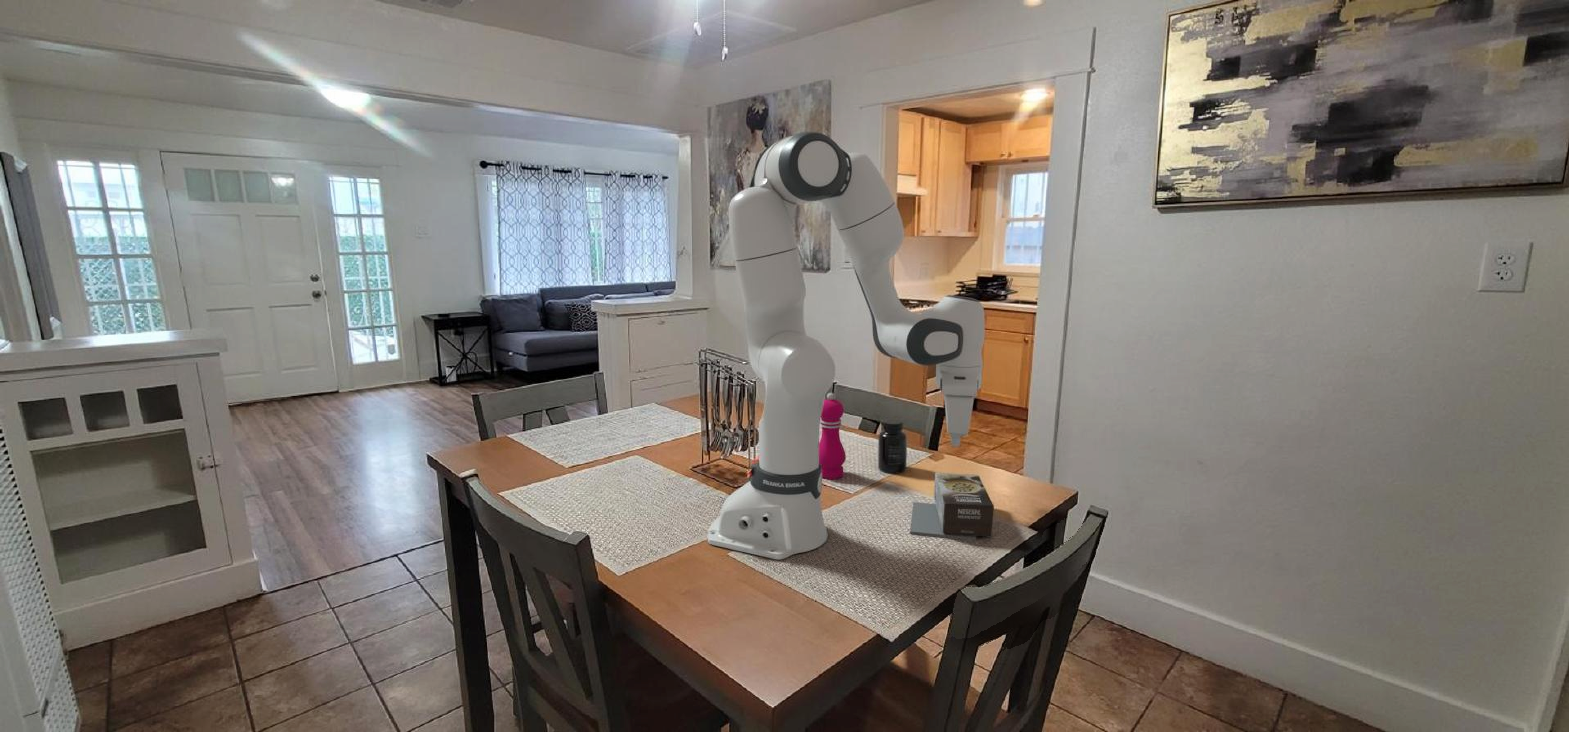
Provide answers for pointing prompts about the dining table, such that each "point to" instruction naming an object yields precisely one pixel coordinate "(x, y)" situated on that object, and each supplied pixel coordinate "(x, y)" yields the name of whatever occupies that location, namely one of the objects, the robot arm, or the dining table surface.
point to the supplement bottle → (892, 447)
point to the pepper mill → (831, 439)
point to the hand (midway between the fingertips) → (955, 444)
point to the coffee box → (963, 505)
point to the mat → (930, 522)
